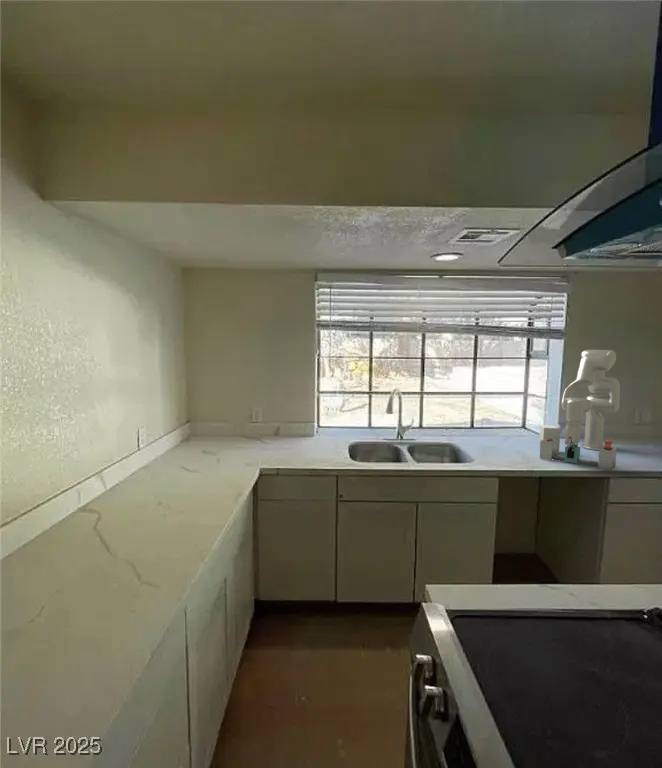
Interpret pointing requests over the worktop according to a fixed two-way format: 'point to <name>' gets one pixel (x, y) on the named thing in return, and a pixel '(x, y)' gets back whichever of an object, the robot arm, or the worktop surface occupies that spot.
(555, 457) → the rail
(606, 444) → the knob
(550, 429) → the supplement box
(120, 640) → the worktop surface
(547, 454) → the cabinet
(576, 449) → the carriage
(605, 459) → the cabinet
